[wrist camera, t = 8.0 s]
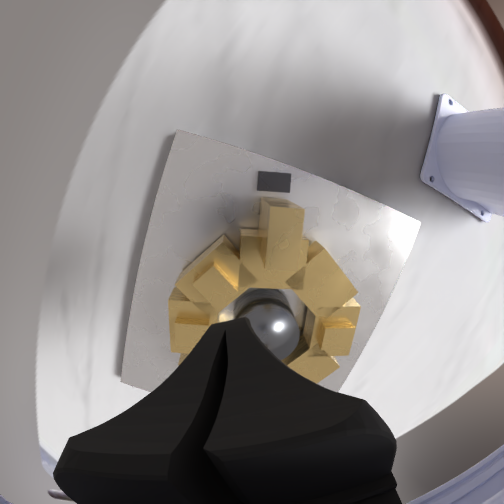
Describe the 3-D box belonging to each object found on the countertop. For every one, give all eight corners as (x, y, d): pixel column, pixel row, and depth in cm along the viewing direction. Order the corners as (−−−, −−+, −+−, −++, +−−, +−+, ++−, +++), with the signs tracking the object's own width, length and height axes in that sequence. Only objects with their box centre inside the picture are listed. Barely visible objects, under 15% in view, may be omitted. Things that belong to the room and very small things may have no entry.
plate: (413, 220, 20) (445, 231, 16) (313, 417, 25) (323, 447, 21) (180, 131, 18) (166, 121, 14) (123, 374, 22) (110, 404, 18)
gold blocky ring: (329, 382, 22) (345, 420, 18) (178, 379, 21) (169, 421, 17) (364, 207, 18) (400, 219, 14) (175, 192, 17) (156, 200, 13)
